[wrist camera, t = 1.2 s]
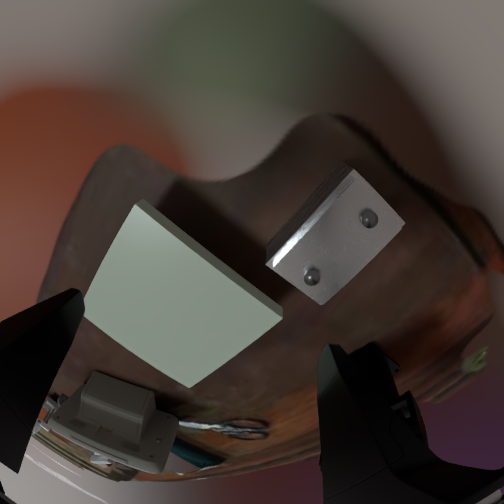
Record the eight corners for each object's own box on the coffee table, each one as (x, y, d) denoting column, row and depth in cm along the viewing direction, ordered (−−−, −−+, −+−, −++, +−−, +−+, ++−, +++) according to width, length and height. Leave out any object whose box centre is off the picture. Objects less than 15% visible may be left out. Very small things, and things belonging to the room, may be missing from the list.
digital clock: (80, 385, 33) (51, 436, 24) (75, 352, 29) (37, 411, 20) (176, 428, 35) (159, 486, 25) (188, 403, 31) (169, 475, 21)
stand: (282, 286, 22) (282, 318, 19) (198, 357, 27) (189, 388, 23) (159, 188, 19) (135, 204, 16) (99, 287, 24) (78, 311, 20)
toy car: (20, 425, 31) (27, 420, 27) (40, 393, 40) (51, 381, 36) (92, 475, 36) (113, 477, 32) (105, 441, 45) (128, 438, 41)
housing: (387, 207, 19) (411, 229, 15) (315, 279, 22) (322, 314, 18) (340, 160, 18) (358, 171, 14) (267, 242, 21) (264, 272, 17)
